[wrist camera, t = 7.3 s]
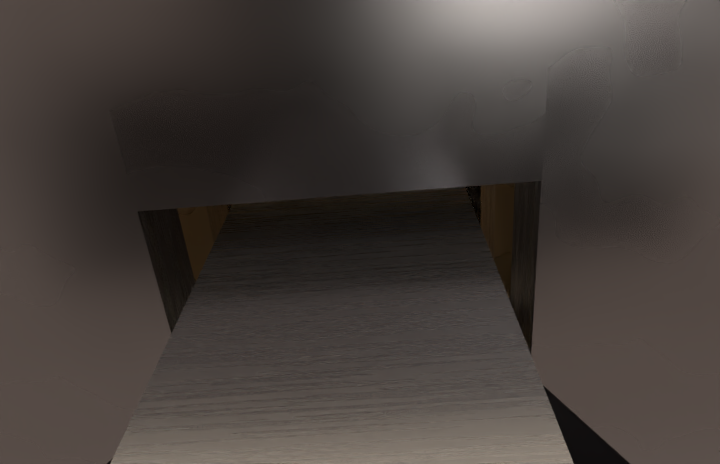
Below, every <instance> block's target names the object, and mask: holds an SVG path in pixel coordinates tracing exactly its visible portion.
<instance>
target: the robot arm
mask: <svg viewBox="0 0 720 464" xmlns="http://www.w3.org/2000/svg"><path fill="white" fill-rule="evenodd" d="M543 387H544V389H545V392H546V394H547V397H548V399H549V402H550V404H551V407H552V410H553V412H554V415H555V417H556V420H557V422H558V425H559V427H560V430H561V432H562V435H563V437H564V440H565V443H566V445H567V448H568V450H569V453H570V455H571V458H572V460H573V463H574V464H630V463H629V462H628V461H627V460H626V459H625V458H624V457H622V456H621V455H620V454H619V453H618V452H617V451H616V450H615V449H614V448H612V447H611V446H610V445H609V444H608V443H607V442H606V441H605V440H604V439H602V438H601V437H600V436H599V435H598V434H597V433H596V432H595V431H594V430H592V429H591V428H590V427H589V426H588V425H587V424H586V423H585V422H584V421H582V420H581V419H580V418H579V417H578V416H577V415H576V414H575V413H574V412H572V411H571V410H570V409H569V408H568V407H567V406H566V405H565V404H564V403H562V402H561V401H560V400H559V399H558V398H557V397H556V396H555V395H554V394H552V393H551V392H550V391H549V390H548V389H547V388H546V387H545V386H544V385H543ZM112 459H113V458H112ZM112 459H111V460H110V461H109V462H108V463H107V464H110V463H111V461H112Z"/></svg>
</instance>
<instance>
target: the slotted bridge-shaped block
mask: <svg viewBox="0 0 720 464" xmlns="http://www.w3.org/2000/svg"><path fill="white" fill-rule="evenodd" d="M467 186H481V229H482V232H483V234H484V237H485V239H486V242H487V244H488V247H489V249H490V252H491V254H492V257H493V260H494V262H495V265H496V267H497V270H498V272H499V275H500V277H501V280H502V282H503V285H504V288H505V290H506V293H507V295H508V298H509V300H510V303H511V305H512V308H513V310H514V313H515V315H516V318H517V321H518V323H519V326H520V328H521V331H522V333H523V336H524V338H525V341H526V343H527V346H528V349H529V351H530V354H531V356H532V359H533V361H534V364H535V366H536V369H537V371H538V374H539V376H540V379H541V382H542V384H543V385H544V386H545V387H546V388H547V389H548V390H549V391H550V392H551V393H552V394H554V395H555V396H556V397H557V398H558V399H559V400H560V401H561V402H562V403H564V404H565V405H566V406H567V407H568V408H569V409H570V410H571V411H572V412H574V413H575V414H576V415H577V416H578V417H579V418H580V419H581V420H582V421H584V422H585V423H586V424H587V425H588V426H589V427H590V428H591V429H592V430H594V431H595V432H596V433H597V434H598V435H599V436H600V437H601V438H602V439H604V440H605V441H606V442H607V443H608V444H609V445H610V446H611V447H612V448H614V449H615V450H616V451H617V452H618V453H619V454H620V455H621V456H622V457H624V458H625V459H626V460H627V461H628V462H629V463H630V464H720V0H0V464H107V463H108V462H109V461H110V460H111V459H112V458H113V457H114V455H115V452H116V450H117V448H118V446H119V444H120V442H121V440H122V438H123V435H124V433H125V431H126V429H127V427H128V425H129V423H130V421H131V418H132V416H133V414H134V412H135V410H136V408H137V406H138V404H139V401H140V399H141V397H142V395H143V393H144V391H145V389H146V387H147V385H148V382H149V380H150V378H151V376H152V374H153V372H154V370H155V368H156V365H157V363H158V361H159V359H160V357H161V355H162V353H163V351H164V348H165V346H166V344H167V342H168V340H169V338H170V336H171V334H172V331H173V329H174V327H175V325H176V323H177V321H178V319H179V317H180V315H181V312H182V310H183V308H184V306H185V304H186V302H187V300H188V298H189V295H190V293H191V291H192V289H193V287H194V285H195V283H196V281H197V278H198V276H199V274H200V272H201V270H202V268H203V266H204V264H205V261H206V259H207V257H208V255H209V253H210V251H211V249H212V247H213V244H214V242H215V240H216V238H217V236H218V234H219V232H220V230H221V228H222V225H223V223H224V221H225V219H226V217H227V215H228V213H229V211H228V206H227V205H229V204H242V203H255V202H268V201H282V200H295V199H308V198H322V197H335V196H348V195H361V194H375V193H388V192H401V191H414V190H428V189H441V188H454V187H467Z"/></svg>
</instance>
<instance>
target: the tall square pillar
mask: <svg viewBox="0 0 720 464" xmlns="http://www.w3.org/2000/svg"><path fill="white" fill-rule="evenodd" d="M110 464H574V463H573V460H572V458H571V455H570V453H569V450H568V448H567V445H566V443H565V440H564V437H563V435H562V432H561V430H560V427H559V425H558V422H557V420H556V417H555V415H554V412H553V410H552V407H551V404H550V402H549V399H548V397H547V394H546V392H545V389H544V387H543V384H542V382H541V379H540V376H539V374H538V371H537V369H536V366H535V364H534V361H533V359H532V356H531V354H530V351H529V349H528V346H527V343H526V341H525V338H524V336H523V333H522V331H521V328H520V326H519V323H518V321H517V318H516V315H515V313H514V310H513V308H512V305H511V303H510V300H509V298H508V295H507V293H506V290H505V288H504V285H503V282H502V280H501V277H500V275H499V272H498V270H497V267H496V265H495V262H494V260H493V257H492V254H491V252H490V249H489V247H488V244H487V242H486V239H485V237H484V234H483V232H482V229H481V226H480V224H479V221H478V219H477V216H476V214H475V211H474V209H473V206H472V204H471V201H470V199H469V196H468V193H467V191H466V188H465V187H454V188H441V189H428V190H414V191H401V192H388V193H375V194H361V195H348V196H335V197H322V198H308V199H295V200H282V201H268V202H255V203H242V204H232V206H231V208H230V211H229V213H228V215H227V217H226V219H225V221H224V223H223V225H222V228H221V230H220V232H219V234H218V236H217V238H216V240H215V242H214V244H213V247H212V249H211V251H210V253H209V255H208V257H207V259H206V261H205V264H204V266H203V268H202V270H201V272H200V274H199V276H198V278H197V281H196V283H195V285H194V287H193V289H192V291H191V293H190V295H189V298H188V300H187V302H186V304H185V306H184V308H183V310H182V312H181V315H180V317H179V319H178V321H177V323H176V325H175V327H174V329H173V331H172V334H171V336H170V338H169V340H168V342H167V344H166V346H165V348H164V351H163V353H162V355H161V357H160V359H159V361H158V363H157V365H156V368H155V370H154V372H153V374H152V376H151V378H150V380H149V382H148V385H147V387H146V389H145V391H144V393H143V395H142V397H141V399H140V401H139V404H138V406H137V408H136V410H135V412H134V414H133V416H132V418H131V421H130V423H129V425H128V427H127V429H126V431H125V433H124V435H123V438H122V440H121V442H120V444H119V446H118V448H117V450H116V452H115V455H114V457H113V459H112V461H111V463H110Z"/></svg>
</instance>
